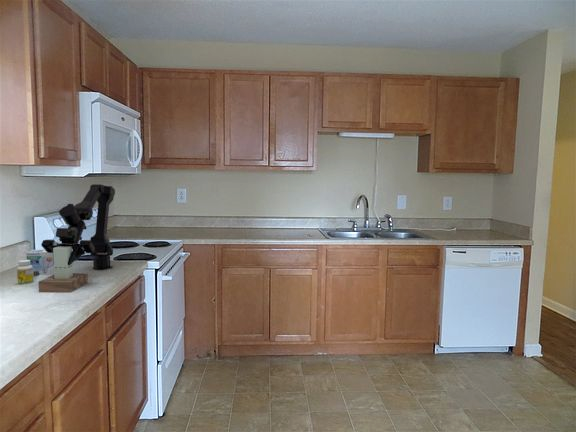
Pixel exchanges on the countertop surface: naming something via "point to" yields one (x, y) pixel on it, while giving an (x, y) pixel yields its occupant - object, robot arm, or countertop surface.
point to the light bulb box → (41, 262)
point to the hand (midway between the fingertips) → (61, 264)
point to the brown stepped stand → (63, 283)
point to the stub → (62, 262)
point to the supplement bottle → (25, 272)
